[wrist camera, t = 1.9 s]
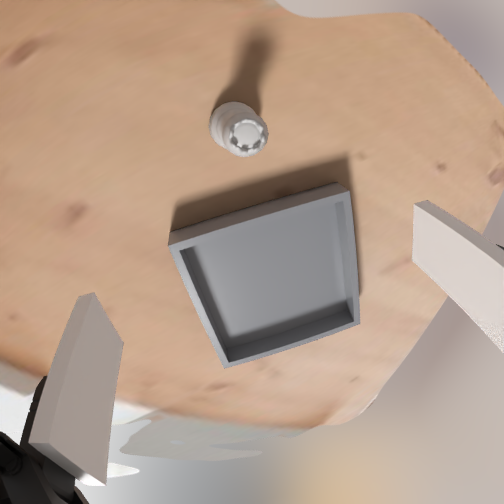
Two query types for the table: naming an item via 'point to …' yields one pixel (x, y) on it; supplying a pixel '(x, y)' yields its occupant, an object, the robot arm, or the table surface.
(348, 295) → the tray
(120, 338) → the robot arm
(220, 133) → the rook chess piece
